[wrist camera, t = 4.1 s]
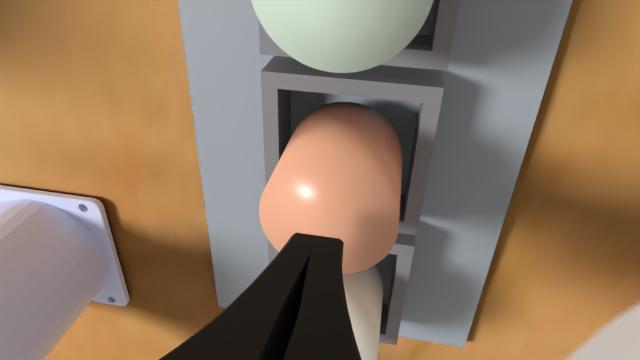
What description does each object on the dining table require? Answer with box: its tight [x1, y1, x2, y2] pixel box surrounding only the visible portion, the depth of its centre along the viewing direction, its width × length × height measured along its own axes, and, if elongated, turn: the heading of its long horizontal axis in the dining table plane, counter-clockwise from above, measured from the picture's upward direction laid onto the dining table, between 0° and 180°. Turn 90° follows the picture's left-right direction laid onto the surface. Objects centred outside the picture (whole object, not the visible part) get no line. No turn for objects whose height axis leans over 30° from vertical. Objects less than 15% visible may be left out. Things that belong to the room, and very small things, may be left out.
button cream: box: [343, 265, 384, 360], centre depth 20 cm, size 4×4×4 cm
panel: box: [178, 0, 573, 348], centre depth 19 cm, size 14×24×3 cm, turn 178°
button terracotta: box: [259, 102, 403, 274], centre depth 16 cm, size 4×4×4 cm
